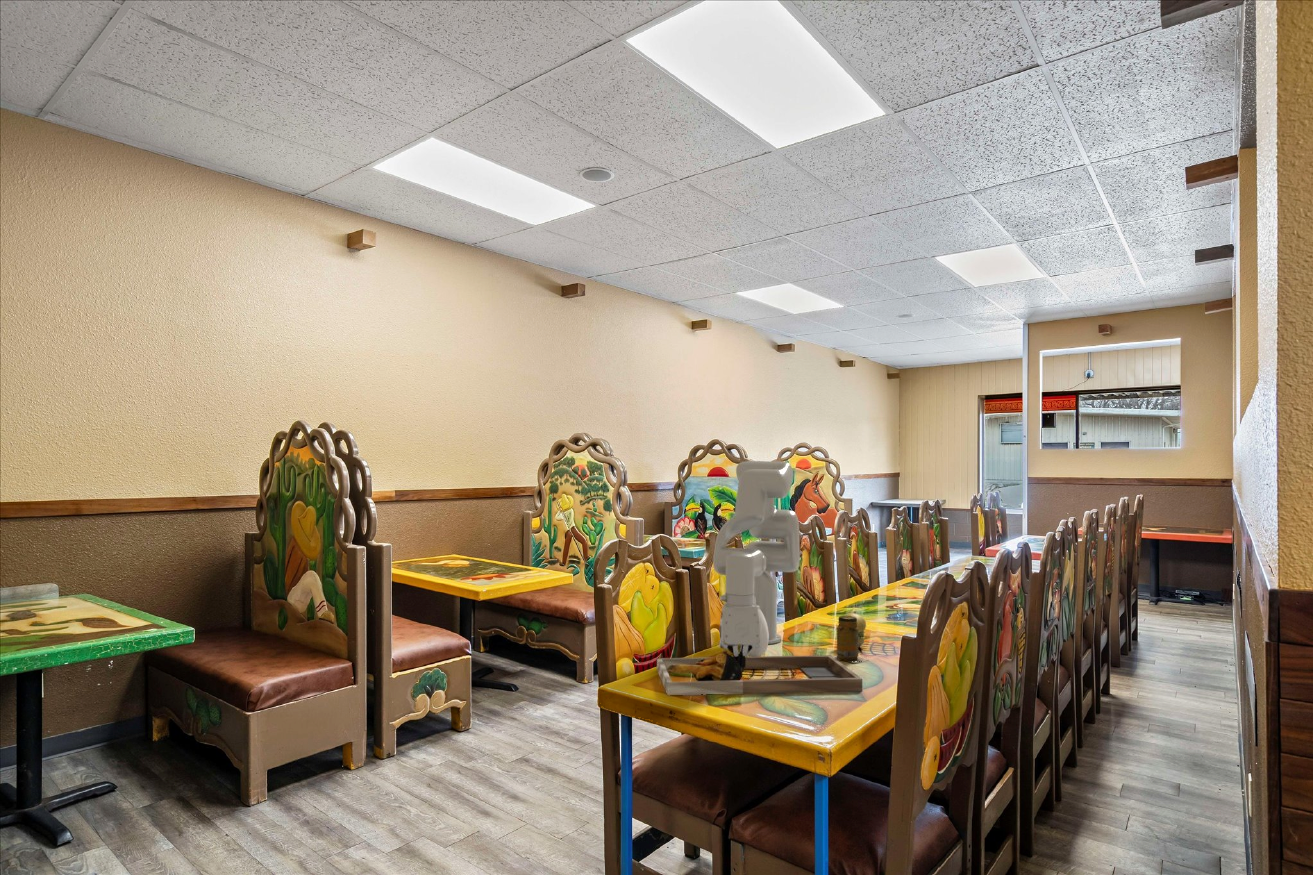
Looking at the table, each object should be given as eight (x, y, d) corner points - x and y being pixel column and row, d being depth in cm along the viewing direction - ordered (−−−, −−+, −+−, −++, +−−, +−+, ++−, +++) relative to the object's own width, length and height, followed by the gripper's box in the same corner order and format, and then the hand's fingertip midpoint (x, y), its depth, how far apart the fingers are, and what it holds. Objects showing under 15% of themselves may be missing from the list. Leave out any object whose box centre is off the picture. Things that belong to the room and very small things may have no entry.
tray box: (656, 669, 197) (657, 658, 197) (830, 665, 203) (830, 655, 203) (667, 695, 175) (667, 683, 175) (862, 691, 181) (862, 678, 181)
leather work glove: (748, 672, 179) (680, 649, 178) (732, 705, 183) (665, 683, 182) (746, 649, 188) (681, 627, 187) (731, 682, 192) (667, 660, 191)
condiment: (845, 653, 216) (845, 613, 217) (869, 660, 210) (869, 618, 210) (830, 657, 212) (830, 616, 212) (854, 664, 205) (854, 622, 206)
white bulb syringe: (755, 663, 204) (756, 600, 205) (735, 658, 210) (736, 596, 211) (773, 659, 209) (774, 596, 210) (753, 653, 215) (753, 593, 216)
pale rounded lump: (859, 644, 228) (859, 606, 228) (870, 650, 220) (870, 611, 221) (836, 645, 226) (837, 606, 227) (846, 651, 219) (846, 611, 220)
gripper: (714, 603, 185) (714, 675, 184) (771, 602, 186) (770, 673, 186) (709, 597, 192) (708, 666, 192) (763, 596, 194) (763, 665, 193)
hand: (739, 670), depth 189 cm, fingers closed
